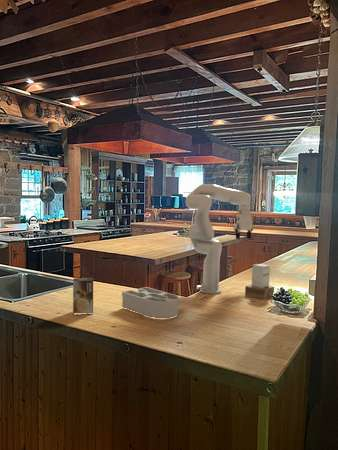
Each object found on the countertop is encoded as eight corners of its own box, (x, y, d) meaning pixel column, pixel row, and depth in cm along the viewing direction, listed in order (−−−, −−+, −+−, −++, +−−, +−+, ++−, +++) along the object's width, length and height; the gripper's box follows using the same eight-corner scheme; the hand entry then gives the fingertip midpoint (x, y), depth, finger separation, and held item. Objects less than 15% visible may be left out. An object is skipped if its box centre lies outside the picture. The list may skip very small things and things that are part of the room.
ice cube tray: (146, 303, 194) (146, 286, 194) (185, 315, 175) (186, 298, 174) (121, 309, 182) (121, 291, 182) (160, 323, 163) (161, 304, 162)
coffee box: (92, 310, 177) (92, 277, 176) (93, 314, 171) (93, 280, 170) (72, 311, 175) (73, 278, 174) (72, 315, 169) (73, 281, 168)
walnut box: (263, 300, 207) (264, 290, 207) (245, 296, 215) (245, 286, 215) (273, 296, 216) (274, 286, 216) (255, 293, 224) (255, 283, 224)
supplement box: (262, 288, 210) (263, 266, 209) (251, 285, 216) (252, 264, 215) (269, 286, 215) (270, 265, 214) (258, 284, 221) (259, 263, 220)
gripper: (238, 212, 234) (237, 239, 235) (258, 212, 243) (256, 238, 244) (230, 212, 241) (229, 238, 242) (249, 212, 250) (248, 237, 251)
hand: (243, 238), depth 243 cm, fingers open, 9 cm apart
